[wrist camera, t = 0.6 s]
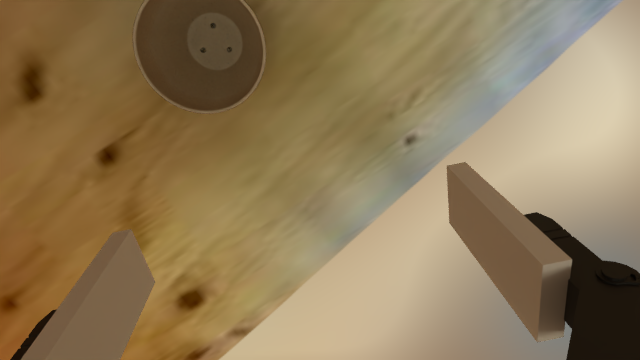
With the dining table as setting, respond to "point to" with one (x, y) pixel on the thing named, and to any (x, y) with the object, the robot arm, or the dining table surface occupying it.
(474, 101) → the dining table surface
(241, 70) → the flower pot
